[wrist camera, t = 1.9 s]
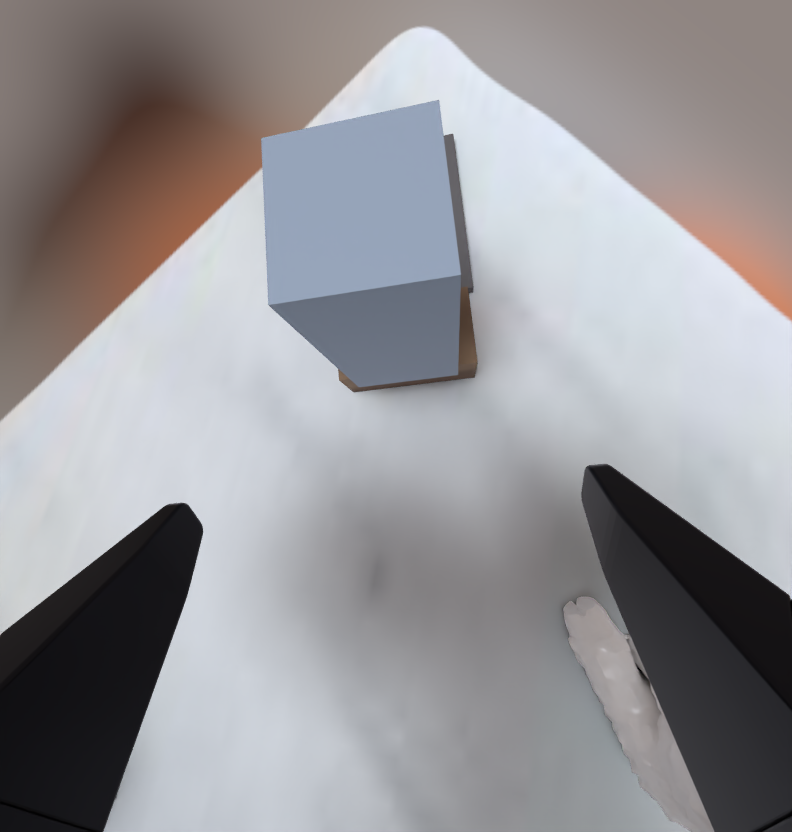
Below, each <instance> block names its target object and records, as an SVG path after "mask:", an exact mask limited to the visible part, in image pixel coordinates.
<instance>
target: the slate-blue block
mask: <svg viewBox="0 0 792 832" xmlns="http://www.w3.org/2000/svg"><path fill="white" fill-rule="evenodd" d="M261 142H262V163H263V189H264V212H265V236H266V259H267V283H268V305H269V306H270V307H271V308H272V309H273V310H274V311H276V312H277V313H278V314H279V315H280V316H281V317H282V318H283V319H284V320H285V321H287V322H288V323H289V324H290V325H291V326H292V327H293V328H294V329H295V330H296V331H297V332H299V333H300V334H301V335H302V336H303V337H304V338H305V339H306V340H307V341H308V342H310V343H311V344H312V345H313V346H314V347H315V348H316V349H317V350H318V351H319V352H321V353H322V354H323V355H324V356H325V357H326V358H327V359H328V360H329V361H330V362H332V363H333V364H334V365H335V366H336V367H337V368H338V369H339V370H340V371H341V372H343V373H344V374H345V375H346V376H347V377H348V378H349V379H350V380H351V381H352V382H354V383H355V384H356V385H357V386H358V387H366V386H374V385H382V384H390V383H398V382H406V381H414V380H422V379H430V378H438V377H446V376H454V375H458V362H459V327H460V292H461V271H460V263H459V255H458V247H457V239H456V231H455V223H454V215H453V207H452V199H451V192H450V184H449V176H448V168H447V160H446V152H445V144H444V136H443V128H442V120H441V112H440V104H439V100H437V101H432V102H427V103H423V104H418V105H413V106H409V107H404V108H399V109H395V110H390V111H385V112H381V113H376V114H371V115H367V116H362V117H358V118H353V119H348V120H344V121H339V122H334V123H330V124H325V125H320V126H316V127H311V128H306V129H302V130H297V131H293V132H288V133H283V134H278V135H274V136H270V137H264V138H262V139H261Z"/></svg>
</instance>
